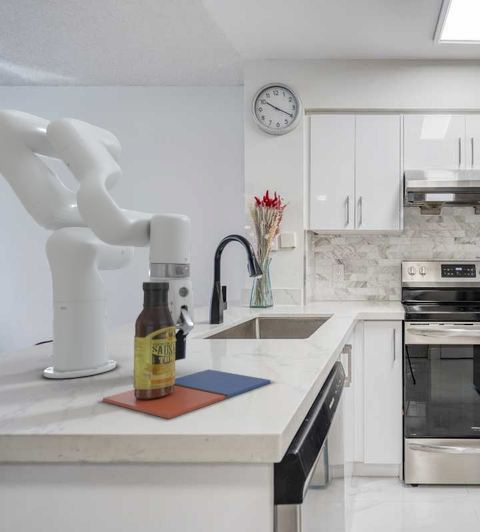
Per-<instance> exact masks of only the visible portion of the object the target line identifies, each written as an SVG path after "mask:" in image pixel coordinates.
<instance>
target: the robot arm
mask: <svg viewBox="0 0 480 532" xmlns="http://www.w3.org/2000/svg"><path fill="white" fill-rule="evenodd" d="M121 156H122V146H121V143H120V141H119V139H118V138H117V136H116V135H114V133H112V132H111V131H109V130H107V129H105V128H102V127H100V126H97V125H94V124H93V123H92V124H91V123H89V122H86V121H84V120H81V119H78V118H74V117H58V118H55V119H53V120H49V119H47V118H44V117H41V116H37V115H35V114H31V113H29V112H25V111H22V110H17V109H12V108H11V109H10V108H0V175H1V176H2V177H3V178H4V179H5V181H6V182H7V183H8V185H9V186H10V188H11V189H12V191H13V193H14V194H15V196H16V197H17V199H18V200H19V202H20V203H21V205H22V206H23V208H24V209H25V211H26V212H27V215H28V216H29V217H30V219H31V220H32V221H33V222H34V224H35V225H36V226H37V227H39V228H40V229H43V230H46V231H50V232H51V233H50V234H49V235H48V237H47V239H46V240H45V245H44V254H45V259H46V261H47V266H48V269H49V275H50V282H51V304H52V305H51V306H52V307H51V308H52V309H51V311H52V313H51V315H52V356H51V357H52V366H49V367H47V368H45V369H44V370H43V377H44V378H47V379H73V378H82V377H87V376H93V375H98V374H102V373H106V372H109V371H112V370H114V369H115V368H116V367H117V361H116V360H113V359H109V352H108V351H109V349H108V348H109V347H108V345H109V344H108V343H109V342H108V341H109V340H108V339H109V338H108V292H107V291H108V290H107V286H106V283H105V281H104V278H103V277H102V275H101V274H100V271H114V270H115V271H116V270H121V269H124V268H126V267H127V266H129V265H130V264H131V263H132V261H133V260H134V257H135V251H136V250H135V248H149V257H148V258H149V259H148V260H149V261H148V264H149V265H148V279H149V280H148V282H169V290H168V307H169V310H170V313H171V316H172V319H173V322H174V325H175V327H176V330H177V331H176V335H175V360H176V361H181V360H184V359H183V358H184V340H186V341H187V336H188V335H189V334H190V332H191V331H192V330H193V329H194V327H195V326H194V322H195V298H194V288H193V283H192V279H190V275H191V273H190V272H191V271H190V270H191V245H192V244H191V243H192V241H191V239H192V237H191V236H192V220H191V218H190V217H189V216H188V215H185V214H182V213H174V212H156V213H150V212H145V211H144V212H143V211H139V210H132V209H127V208H121V207H119V205H118V204H117V203H116V201H115V200H114V199H113V198H112V196H111V194H110V193H109V191H111V190H112V189H114V188H115V187H117V186H118V185H119V184H120V183H121V181H122V179H123V177H124V175H123V170H122V168H121V167H120V165H119V164H118V161H119V160H120V158H121ZM39 157H43V158H48V159H52V160H55V161H61V162H62V163H63V164H64V166H65V167H66V168H67V170H68V171H69V172H70V174H71V175H72V177H73V178H74V179H75V181H76V183H77V184H78V187H77V190H76V191H75V190H71V189H69V188H68V187H67V186H66V185H64V183H63V182H62V181H61V180H60V178H59V175H58V174H57V173H56V172H55V170H54V169H53V168H52V167H51V166H50V165H49V164H47V163H46V162H45V161H44V160H43V159H41V158H39ZM180 359H181V360H180Z"/></svg>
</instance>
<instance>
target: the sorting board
mask: <svg viewBox="0 0 480 532" xmlns="http://www.w3.org/2000/svg"><path fill="white" fill-rule="evenodd" d="M271 381H272V380H271V379H267V378H261V377H257V376H256V377H255V376H249V375H244V374H238V373H232V372H225V371H219V370H215V369H214V370H213V369H206V370H205V369H204V370H202V371H198V372H194V373H191V374H187V375H184V376H179V377H175V384H174V390H173V392H172V393H171V394H169V395H167V396H164V397H160V398H154V399H137V398H136V397H135V395H134V392H135V388H133V389H131V390H127V391H123V392H120V393H116V394H111V395H109V396H105V397H102V402H104V403H107V404H111V405H115V406H120V407H123V408H126V409H130V410H133V411H138V412H142V413H146V414H149V415H153V416H157V417H160V418H164V419H167V420H170V419H172V418H176V417H179V416H182V415H184V414H187V413H190V412H193V411H196V410H198V409H201V408H204V407H207V406H209V405H212V404H215V403H218V402H221V401H224V400H227V399H229V398H232V397H235V396H237V395H240V394H243V393H246V392H248V391H251V390H254V389H257V388H260V387H263V386H266V385H268V384H271Z"/></svg>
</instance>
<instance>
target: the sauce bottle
mask: <svg viewBox="0 0 480 532" xmlns="http://www.w3.org/2000/svg"><path fill="white" fill-rule="evenodd" d="M168 290H169V282H149V281H143V282H142V291H143V302H142V308H143V309H142V310H141V312H140V313H139V315H137V318H136V320H135V323H134V338H133V341H134V342H133V384H132V385H133V389H135V392H134V395H135V397H136V398H137V399H154V398H160V397H164V396H167V395H169V394H171V393H172V392H173V390H174V384H175V378H176V361H175V335H176V333H177V329H176V327H175V325H174V322H173V319H172V316H171V313H170V310H169V307H168Z"/></svg>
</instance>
